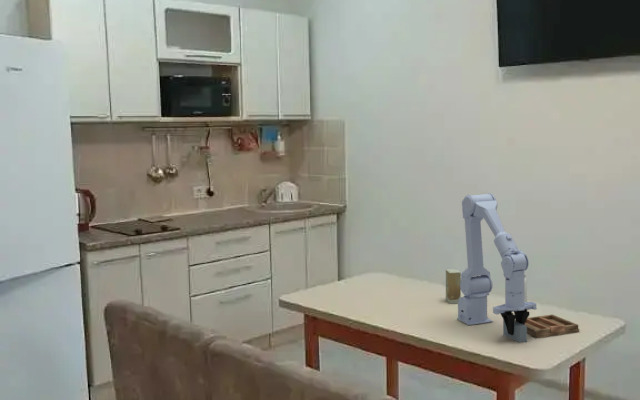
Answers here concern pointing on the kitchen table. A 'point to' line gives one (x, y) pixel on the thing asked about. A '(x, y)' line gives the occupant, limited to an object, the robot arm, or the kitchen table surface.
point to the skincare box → (453, 285)
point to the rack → (549, 326)
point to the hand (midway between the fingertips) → (514, 333)
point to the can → (525, 289)
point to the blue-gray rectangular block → (517, 332)
